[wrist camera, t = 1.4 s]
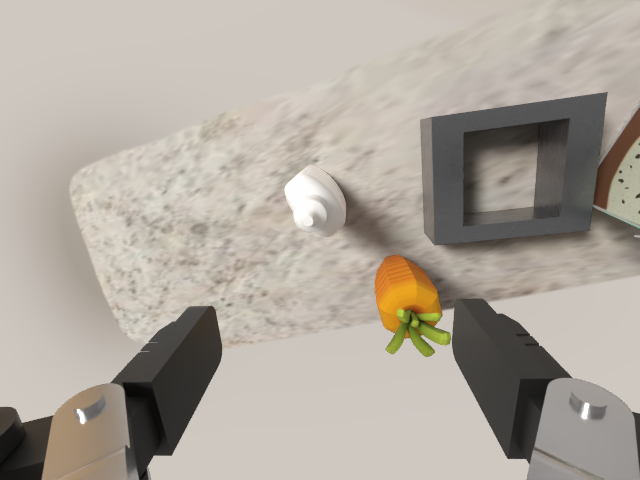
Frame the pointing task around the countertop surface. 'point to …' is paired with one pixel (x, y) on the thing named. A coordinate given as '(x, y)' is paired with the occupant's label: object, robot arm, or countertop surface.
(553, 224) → the grey square frame
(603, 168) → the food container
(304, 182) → the eye dropper bottle
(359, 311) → the countertop surface
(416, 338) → the carrot
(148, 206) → the countertop surface
